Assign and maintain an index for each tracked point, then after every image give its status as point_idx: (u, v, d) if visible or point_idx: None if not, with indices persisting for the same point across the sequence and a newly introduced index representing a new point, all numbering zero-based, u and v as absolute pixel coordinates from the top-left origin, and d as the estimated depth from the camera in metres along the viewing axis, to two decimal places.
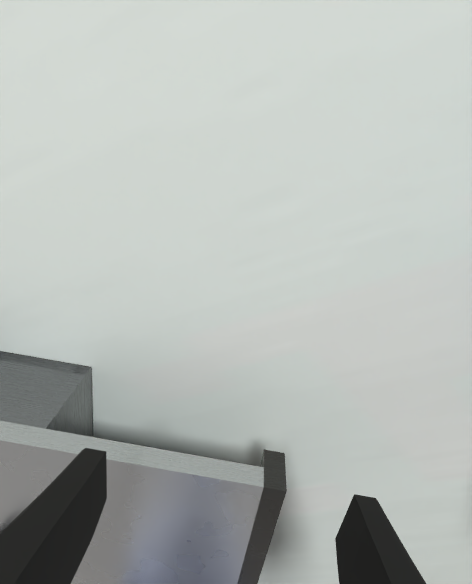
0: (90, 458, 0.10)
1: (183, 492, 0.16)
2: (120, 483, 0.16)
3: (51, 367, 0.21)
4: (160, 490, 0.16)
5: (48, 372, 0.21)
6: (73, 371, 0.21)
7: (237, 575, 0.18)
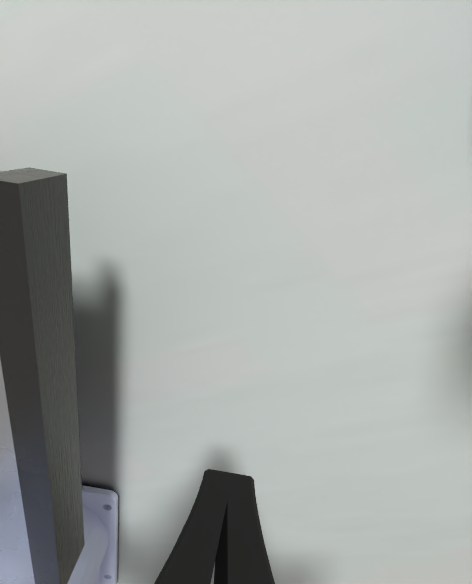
0: (218, 480, 0.10)
1: None
2: None
3: None
4: None
5: None
6: None
7: (6, 418, 0.10)
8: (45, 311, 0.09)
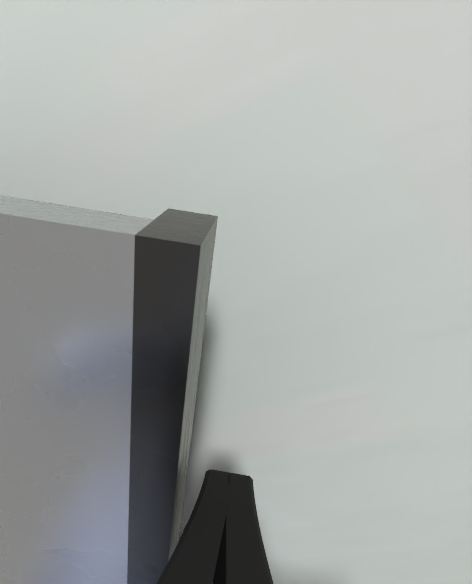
0: (219, 480, 0.10)
1: None
2: None
3: None
4: None
5: None
6: None
7: (124, 522, 0.08)
8: (189, 396, 0.07)
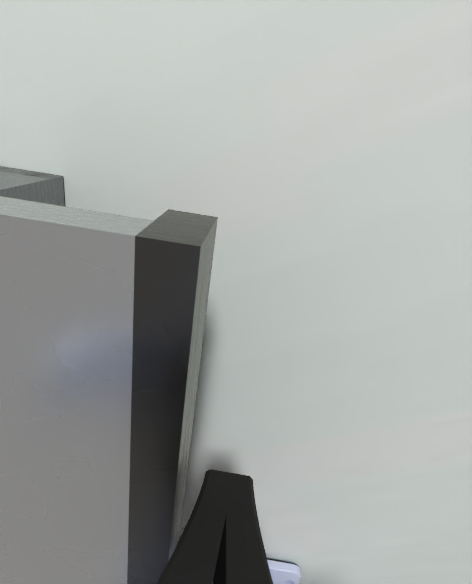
0: (220, 480, 0.10)
1: None
2: None
3: None
4: None
5: None
6: (27, 174, 0.11)
7: (124, 522, 0.08)
8: (189, 396, 0.07)
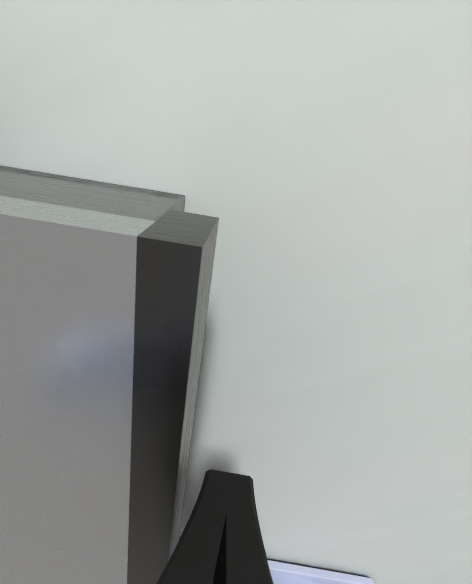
0: (220, 481, 0.10)
1: None
2: None
3: (113, 188, 0.11)
4: None
5: (108, 190, 0.10)
6: (155, 194, 0.11)
7: (124, 522, 0.08)
8: (189, 396, 0.07)
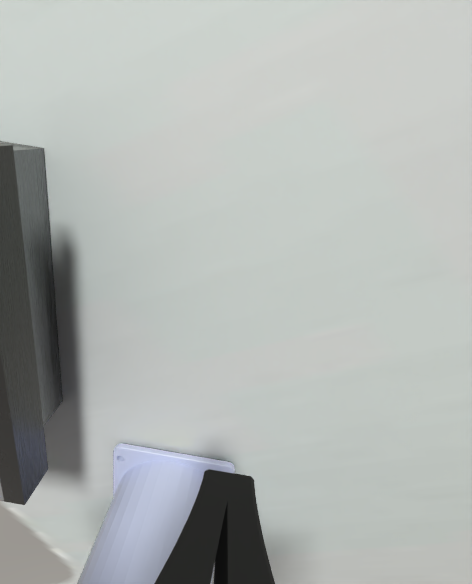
0: (218, 480, 0.10)
1: None
2: None
3: None
4: None
5: None
6: (18, 146, 0.16)
7: None
8: None
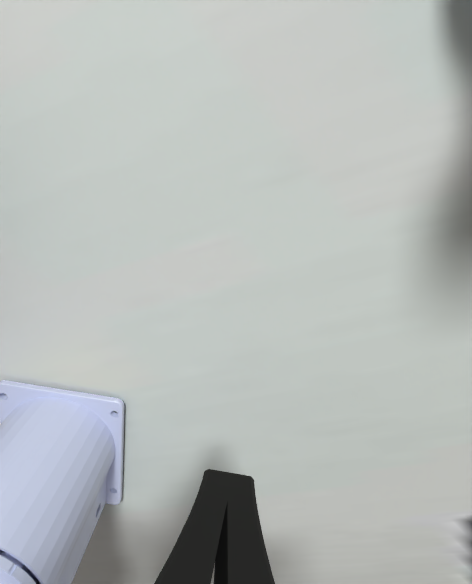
0: (218, 480, 0.10)
1: None
2: None
3: None
4: None
5: None
6: None
7: None
8: None
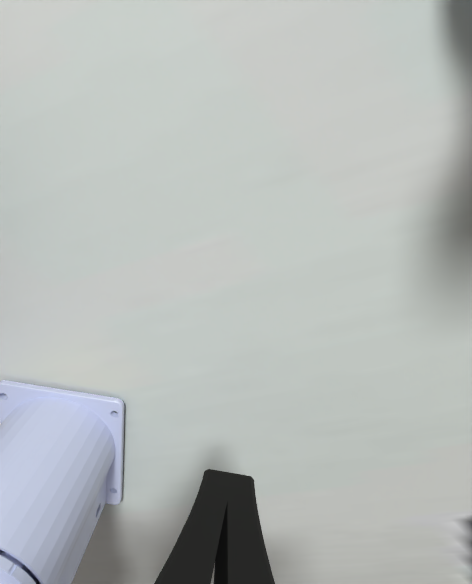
0: (218, 480, 0.10)
1: None
2: None
3: None
4: None
5: None
6: None
7: None
8: None
